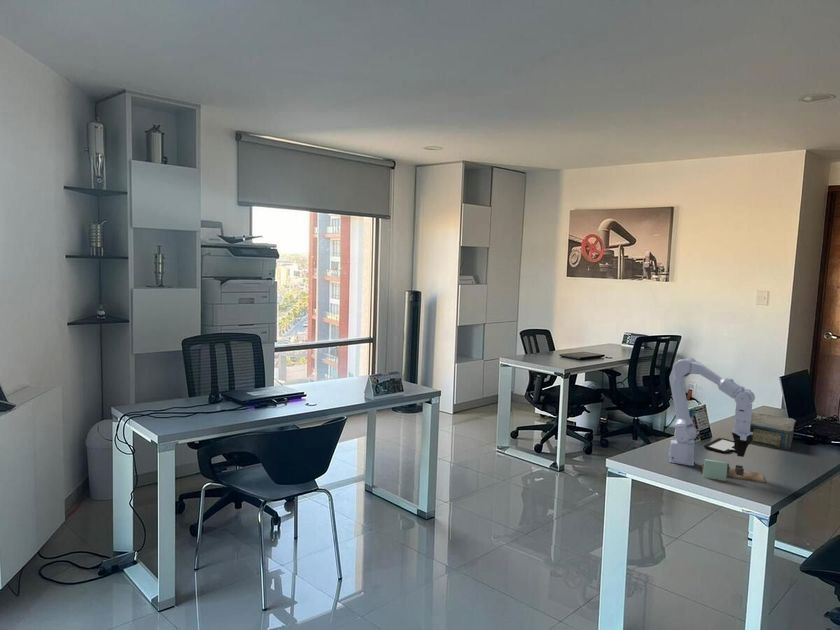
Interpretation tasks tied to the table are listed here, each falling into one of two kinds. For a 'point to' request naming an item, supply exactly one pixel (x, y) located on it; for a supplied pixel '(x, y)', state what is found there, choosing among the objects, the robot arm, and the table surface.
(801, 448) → the table surface
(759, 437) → the metal box
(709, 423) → the table surface
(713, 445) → the decorative sign
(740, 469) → the rail
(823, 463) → the table surface
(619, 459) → the table surface
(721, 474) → the door panel
